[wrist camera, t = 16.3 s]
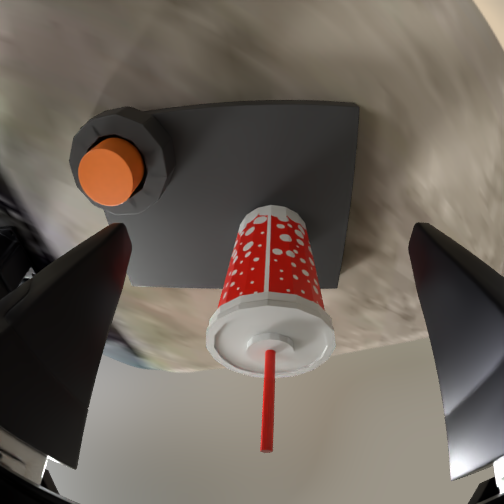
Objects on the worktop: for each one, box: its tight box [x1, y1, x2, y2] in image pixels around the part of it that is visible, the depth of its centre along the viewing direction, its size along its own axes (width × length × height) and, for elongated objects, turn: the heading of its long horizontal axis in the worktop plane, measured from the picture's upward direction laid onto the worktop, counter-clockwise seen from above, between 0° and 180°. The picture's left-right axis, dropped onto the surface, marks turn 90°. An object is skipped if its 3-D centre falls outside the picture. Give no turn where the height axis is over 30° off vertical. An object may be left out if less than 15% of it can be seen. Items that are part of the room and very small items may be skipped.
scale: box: [69, 100, 359, 289], centre depth 20 cm, size 17×15×3 cm
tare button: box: [78, 138, 144, 206], centre depth 16 cm, size 4×4×2 cm
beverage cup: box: [206, 205, 336, 453], centre depth 16 cm, size 6×6×14 cm
